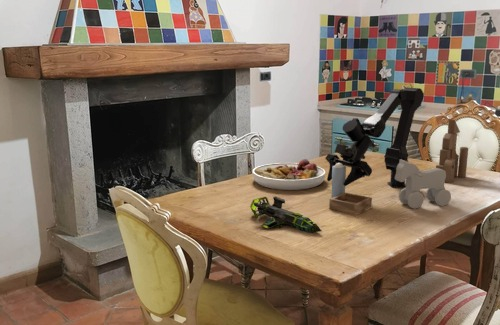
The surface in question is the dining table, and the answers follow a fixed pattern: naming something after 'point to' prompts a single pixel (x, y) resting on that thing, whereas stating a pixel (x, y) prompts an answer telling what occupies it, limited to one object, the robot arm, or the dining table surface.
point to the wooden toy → (452, 154)
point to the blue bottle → (338, 179)
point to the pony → (421, 185)
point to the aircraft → (282, 215)
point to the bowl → (289, 175)
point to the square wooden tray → (350, 203)
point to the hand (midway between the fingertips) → (335, 182)
